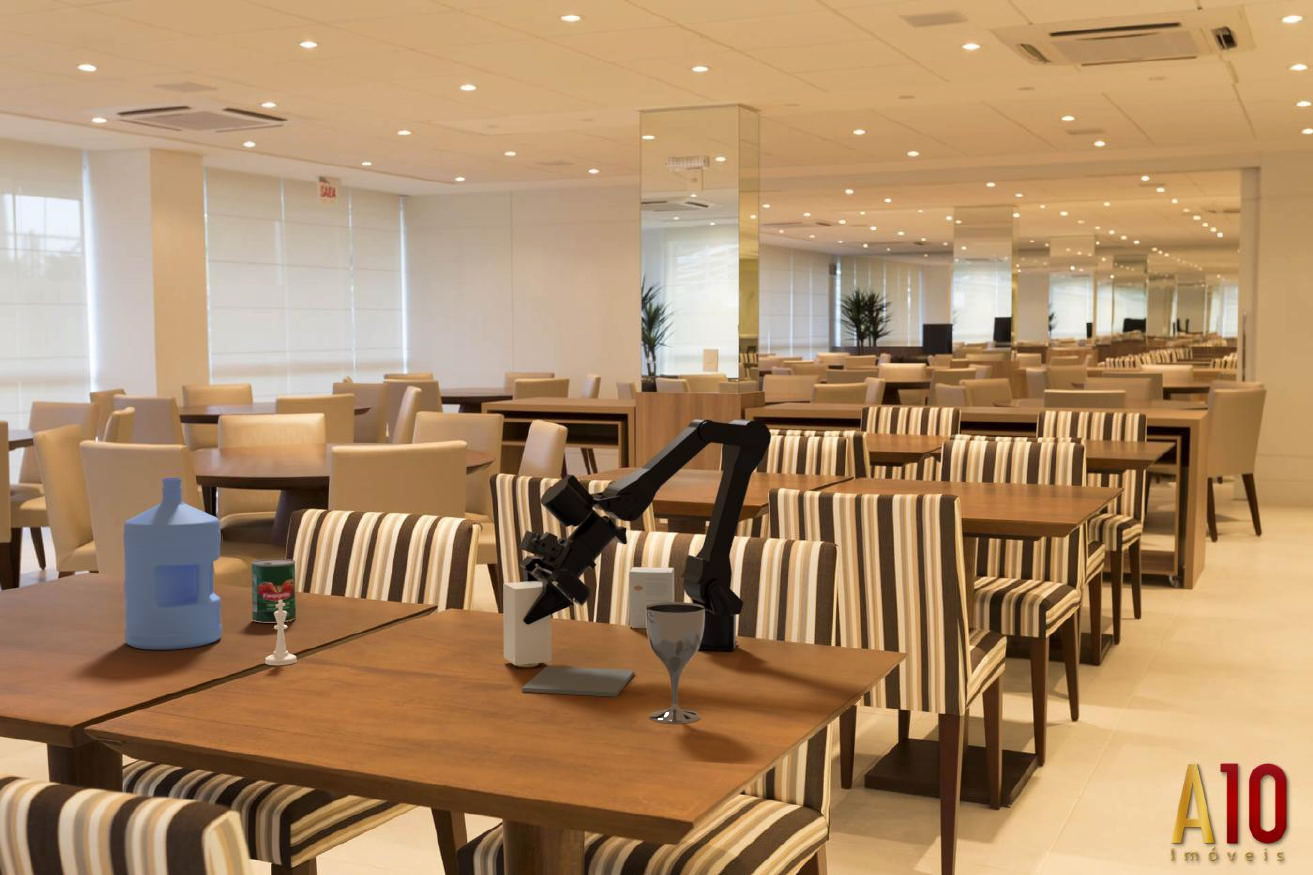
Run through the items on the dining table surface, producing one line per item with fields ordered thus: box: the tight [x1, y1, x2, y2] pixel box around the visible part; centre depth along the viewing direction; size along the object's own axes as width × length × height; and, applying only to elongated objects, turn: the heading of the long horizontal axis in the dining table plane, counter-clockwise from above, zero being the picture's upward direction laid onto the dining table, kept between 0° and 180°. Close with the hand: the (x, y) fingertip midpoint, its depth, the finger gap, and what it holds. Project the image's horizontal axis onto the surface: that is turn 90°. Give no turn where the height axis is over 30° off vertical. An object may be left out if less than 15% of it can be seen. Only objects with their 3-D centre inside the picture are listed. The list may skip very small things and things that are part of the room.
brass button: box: [515, 663, 539, 668], centre depth 207 cm, size 4×4×1 cm
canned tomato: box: [250, 558, 297, 622], centre depth 242 cm, size 8×8×11 cm
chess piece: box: [264, 600, 298, 666], centre depth 208 cm, size 5×5×10 cm
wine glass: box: [646, 601, 705, 725], centre depth 176 cm, size 8×8×15 cm
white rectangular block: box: [502, 581, 552, 666], centre depth 207 cm, size 6×6×12 cm
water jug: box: [122, 477, 223, 651], centre depth 222 cm, size 16×16×28 cm
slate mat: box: [521, 665, 635, 698], centre depth 195 cm, size 14×14×1 cm
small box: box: [628, 566, 675, 629], centre depth 239 cm, size 8×6×10 cm
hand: (518, 619), depth 206 cm, fingers closed on white rectangular block, 6 cm apart
